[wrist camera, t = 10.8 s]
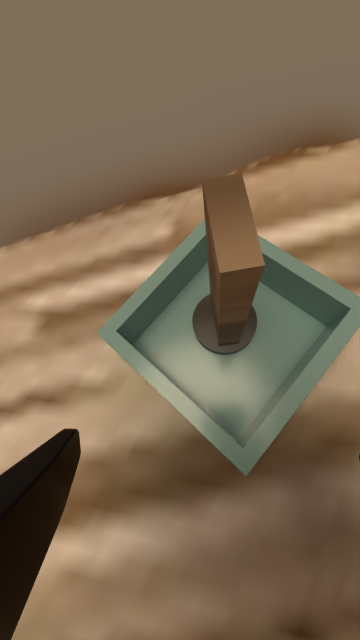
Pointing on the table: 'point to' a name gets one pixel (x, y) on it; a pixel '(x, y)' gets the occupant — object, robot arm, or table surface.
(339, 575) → the table surface
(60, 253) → the table surface
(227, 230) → the brown tower block
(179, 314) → the green square tray
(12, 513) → the robot arm
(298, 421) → the table surface
